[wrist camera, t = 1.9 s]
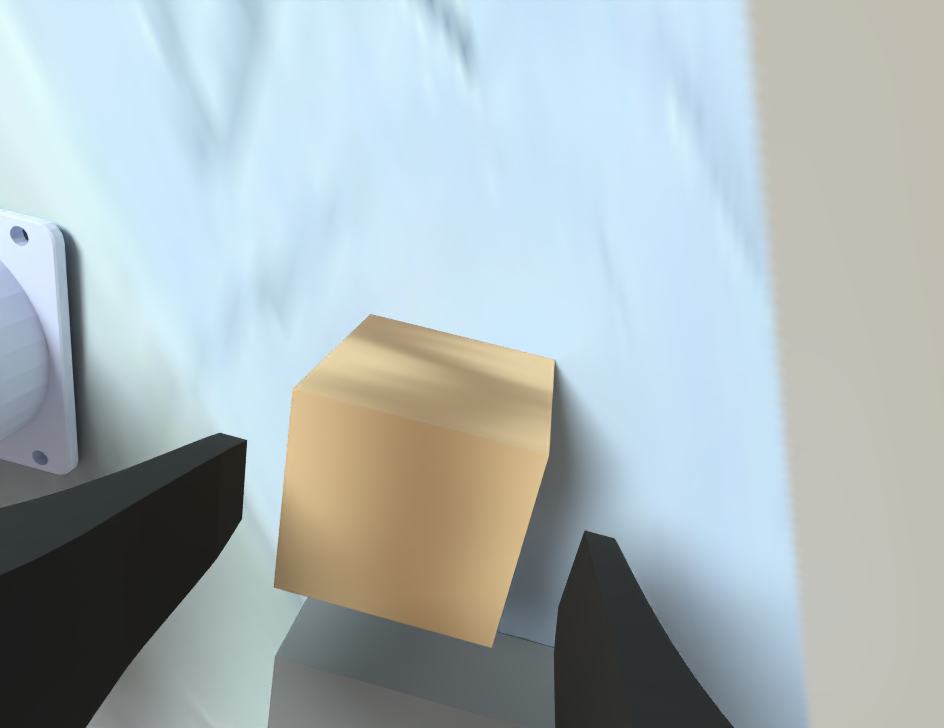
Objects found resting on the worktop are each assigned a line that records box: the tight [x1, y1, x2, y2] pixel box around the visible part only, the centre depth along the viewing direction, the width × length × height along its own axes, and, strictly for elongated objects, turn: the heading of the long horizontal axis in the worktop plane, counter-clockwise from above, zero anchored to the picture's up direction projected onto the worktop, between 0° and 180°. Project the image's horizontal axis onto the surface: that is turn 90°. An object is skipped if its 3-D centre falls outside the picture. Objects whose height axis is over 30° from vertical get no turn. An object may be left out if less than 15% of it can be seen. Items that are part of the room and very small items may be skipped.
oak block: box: [274, 314, 555, 648], centre depth 15 cm, size 5×5×5 cm
